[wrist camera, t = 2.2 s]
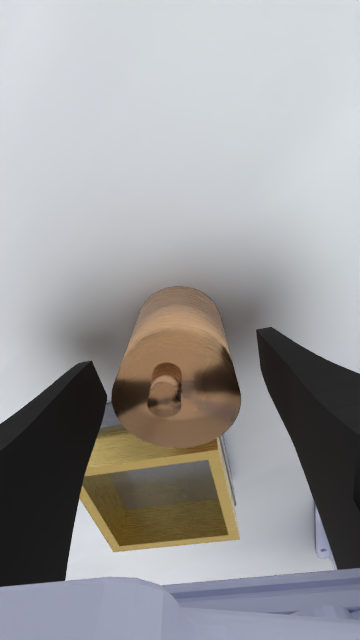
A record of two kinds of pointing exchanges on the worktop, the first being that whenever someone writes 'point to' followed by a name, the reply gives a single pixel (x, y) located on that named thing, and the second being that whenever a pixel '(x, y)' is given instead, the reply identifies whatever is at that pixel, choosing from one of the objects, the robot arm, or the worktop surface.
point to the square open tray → (157, 491)
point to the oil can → (177, 372)
